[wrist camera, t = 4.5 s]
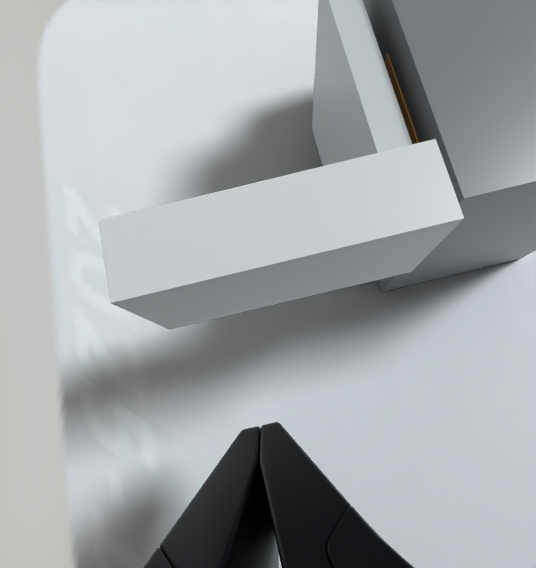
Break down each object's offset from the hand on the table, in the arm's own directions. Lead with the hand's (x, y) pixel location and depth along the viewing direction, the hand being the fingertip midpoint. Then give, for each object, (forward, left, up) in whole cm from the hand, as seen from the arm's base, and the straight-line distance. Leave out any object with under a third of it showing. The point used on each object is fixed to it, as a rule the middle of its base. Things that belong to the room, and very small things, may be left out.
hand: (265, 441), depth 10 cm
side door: (+6, -1, -4) cm, 7 cm away
